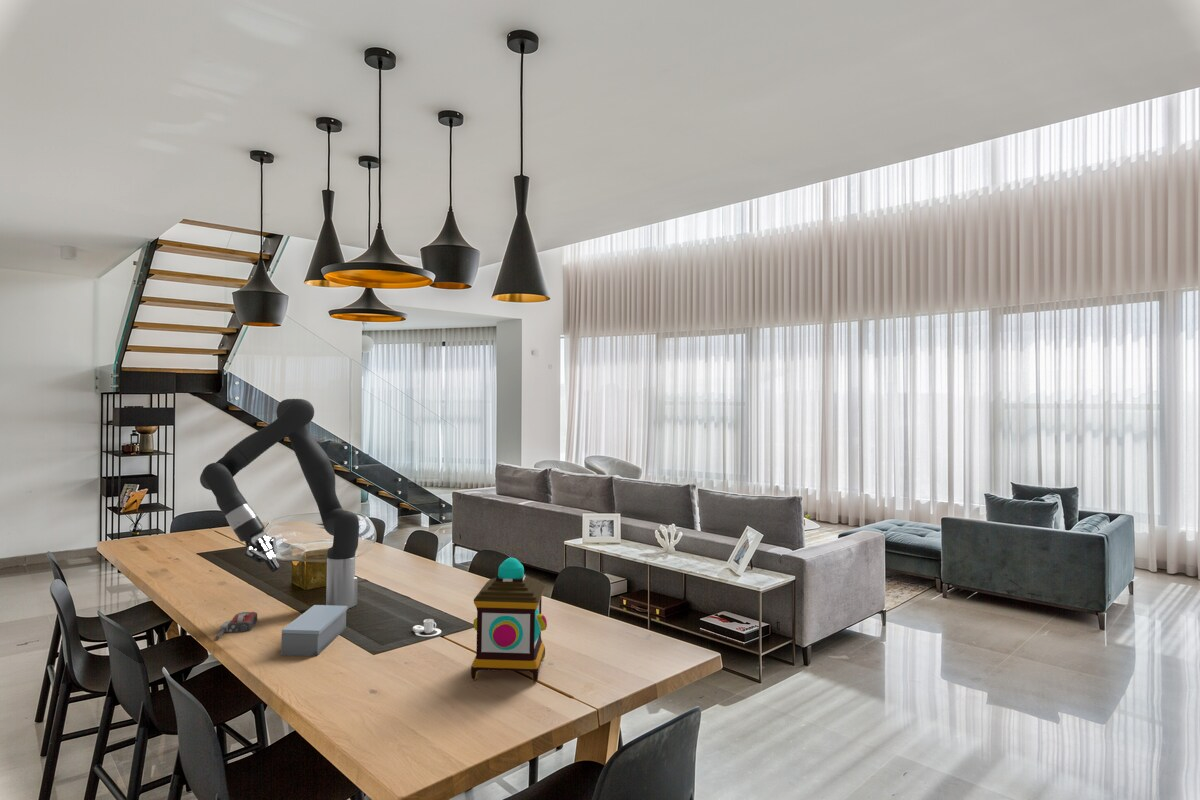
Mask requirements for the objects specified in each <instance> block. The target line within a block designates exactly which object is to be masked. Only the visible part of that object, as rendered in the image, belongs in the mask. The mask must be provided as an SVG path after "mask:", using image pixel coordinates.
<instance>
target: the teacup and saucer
mask: <svg viewBox="0 0 1200 800" xmlns="http://www.w3.org/2000/svg"><path fill="white" fill-rule="evenodd" d="M412 631H413V632H414V634H415V636H418V637H434V636H437V635H440V634H441V633H442V630H441V629H440V628H437V623H436V622H435V620H434V619H433V618H426V619H424V620H423V625H418V624H417V625H414V626H412ZM423 632H424V634H425V635H424V634H421V633H423ZM433 632H436V633H433ZM432 633H433V634H432Z"/></svg>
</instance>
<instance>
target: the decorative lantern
mask: <svg viewBox="0 0 1200 800" xmlns="http://www.w3.org/2000/svg"><path fill="white" fill-rule="evenodd" d="M497 571H498V572H497V576H496V577H495V578H489V580H488V581H487V582H486V583H485V584H484V585H483V586H482V588H481V589H480V590H479V592H478V593H477V594H476V596H475V597H474V598H473V604H474V606H475V608H476V617H475V618H474V619H473V628H474V630H475V631H476V650H475V651H476V655H475V657H474V659H473V661H472V664H471V667H470V676H471V677H470V679H472V680H473V681H475V680H477V678H478V674H479V671H493V672H494V671H498V672H500V671H501V672H502V671H503V672H528V673H530V674H531V676H532V681H533V682H534V683H535V682H537V681H538V678H539V669H540V666H541V663H542V659H543V660H544V659H545V657H546V656H545V655H546V646H545V644H544V642H543V640H542V632H543V631H545V630H547V626H548V624H547V622H548V621H547V618H546V616H545V615H544V614H542V598H543V594H544V592H545V590H546V585H545V584H544V583H543V582H542V581H540V580H539V579H533V578H532V577H530V576H529V575H527V574H526V572H525V568H524V565H523V564H522V563H521V562H520V561H519V560H518V559H517V558H514V557H508V558H506V559H505V560H503V561H502V563H500V565H499V567H498V570H497Z"/></svg>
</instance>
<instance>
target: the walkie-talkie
mask: <svg viewBox="0 0 1200 800" xmlns="http://www.w3.org/2000/svg"><path fill="white" fill-rule="evenodd" d="M257 621H258V613H257V612H255V611H243V612H242V611H241V612H238V613H236V614H235V615H234V616H233V617H232V619H230V620H227V621H224V622H223V623H222V624H221V625H220V627H219V632H218V634H217V635H216V636H215V638H216V639H218V640H219V639H221V637H222V636H223V634H224V633H235V632H236V633H237V632H239V633H240V632H242V633H244V632H251V630H252V629H253V628H254V626H255V624H256V623H257Z"/></svg>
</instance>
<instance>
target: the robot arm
mask: <svg viewBox="0 0 1200 800" xmlns="http://www.w3.org/2000/svg"><path fill="white" fill-rule="evenodd" d="M314 416H315V408H314V406H313V404H312V403H311V402H310V401H308V400H306V399H302V398H285V399H284V400H281V401H280V402H279V403H278V405H277V407H276V417H277V418H276V419H275V420H274V421H273V422H270V423H269V424H268V425H265V426H264V427H262V428H261V429H259V430H257V431H255V432H254V433H252V434H250V435H248V436H246V437H245V438H243V439H242V440H240V441H238V443H236V445H234V446H233V447H231V448H230V449H229V450H228V451H227V452H226V453H225V454H224V455H223V456H222V457H220V458H219V459H218V460H217V461H215V462H211V463H209V464H207V465H206V466H205V467H204V468H203V469H202V472H201V473H200V476H199V482H200V484H201V486H202V487H203V488H204V489H205V490H209V491H211V493H212V494H213V496H214V497H215V499H216V504H217V506H218V508H219V509H220V511H221V513H222V514H223V516H224V517H225V518H226V522H227V523H228V525H229V526H230V528H231V529H232V530H233V532H234V534H235V535H236V537H237V538H238V540H239V541H240V542H242V543H243V542H244V543H245V546H246V547H247V551H245V552H244V555H245V556H246V557H248V558H249V559H251V560H253V561H255V562H257V563H259V564H261V563H264V564H266V567H268V569H269V571H270V572H272V573H274V572H276V571H278V570H279V569H281V565H280V564H279V562H278V560H277V559H276V554H277V553H278V549H277V547H278V546H277V539H276V536H272V537H269V536H268V534H267V533H266V532H264V530H265V525H264V524H263V522H262V520H261V519H260V518H259V516H258V515H257V513H256V512H255V510H254V509H253V507H252V506H250V504H249V503H248V501H247V500H246V498H245V497H244V495H243V494H242V492H241V491H240V489H239V488H238V485H237V483H236V481H235V479H234V476H236V475H237V474H238V473H239V472H241V471H242V470H243V469H245V468H246V467H247V466H248V465H250V464H251V463H252V462H254V461H255V460H256V459H257V458H259V457H260V456H261V455H262V454H263V453H265V452H266V451H268V450H269V449H270V448H272V446H274V445H276V444H277V443H278V442H279V441H281V440H283V439H285V438H286V437H287V438H288V440H289V441H290V443H291V446H292V449H293V451H294V454H295V456H296V458H297V461H298V464H299V466H300V468H301V471H302V473H303V475H304V478H305V481H306V483H307V486H308V487H309V489H310V491H311V494H312V496H313V498H314V500H315V503H316V506H317V507H318V511H319V515H320V518H321V521H322V525H323V528H324V530H325V531H326V532H327V533H328V534H329V535H330V536H333V538H332V539H333V541H332V546H330V547H329V548H328V549H327V551H326V588H325V589H326V592H325V594H326V595H325V597H326V598H325V599H326V601H325V605H335V606H348V609H351V608H353V607H355V606H358V577H356V553H357V552H356V551H357V549H358V546H359V536H360V521H359V518H358V515H357V514H356V513H355V512H352V511H349V510H344V508H343V507H342V505H341V502H340V501H339V499H338V495H337V492H336V473H335V469H334V467H333V465H332V463H331V460H330V458H329V456H328V454H327V453H326V451H325V450H324V449H323V448H322V447H321V445H320V443H319V442H317V440H316V439H315V438H314V437H313V434H312V433H311V431H310V429H309V426H308V424H310V423H311V422H312V420H313V419H314Z"/></svg>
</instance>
